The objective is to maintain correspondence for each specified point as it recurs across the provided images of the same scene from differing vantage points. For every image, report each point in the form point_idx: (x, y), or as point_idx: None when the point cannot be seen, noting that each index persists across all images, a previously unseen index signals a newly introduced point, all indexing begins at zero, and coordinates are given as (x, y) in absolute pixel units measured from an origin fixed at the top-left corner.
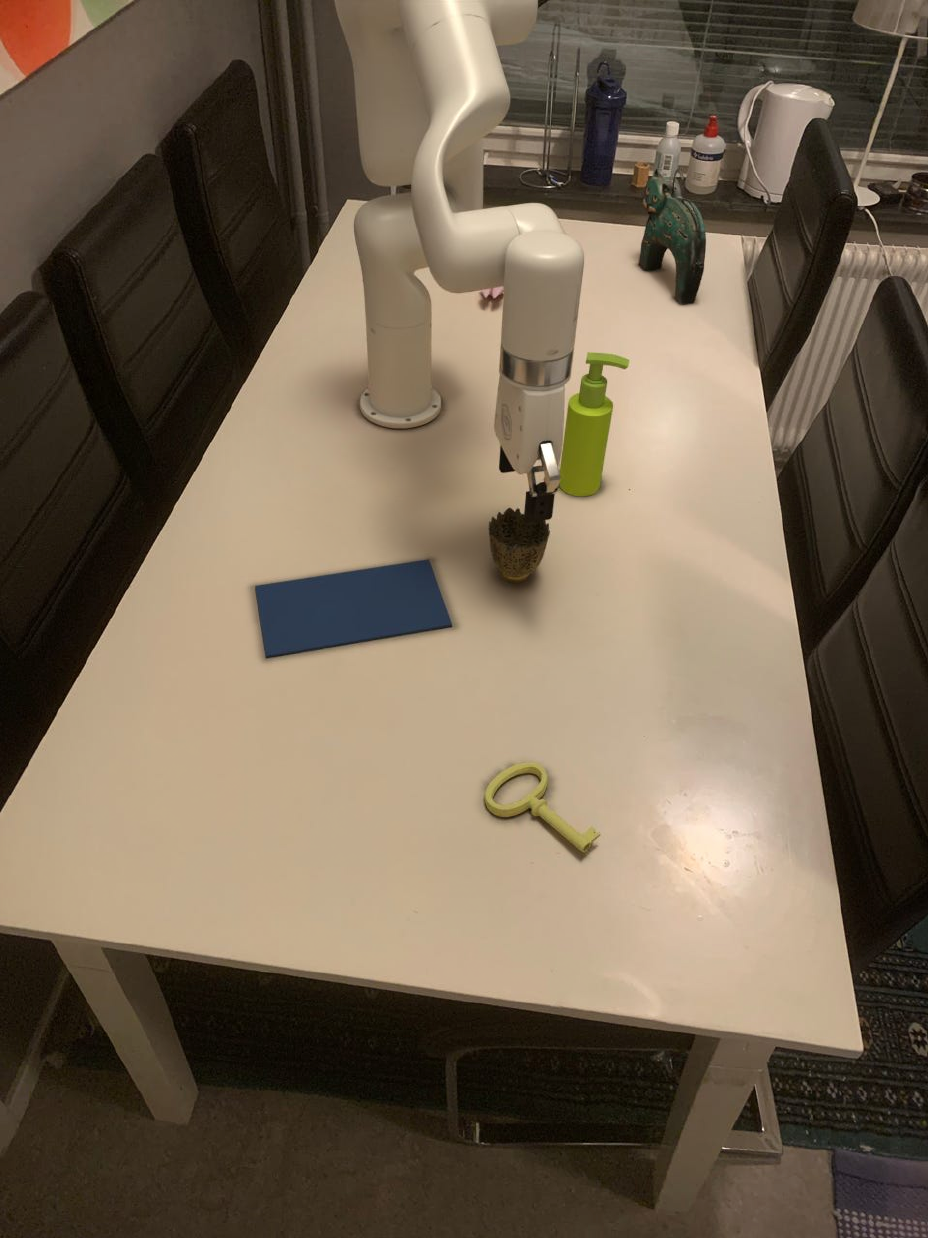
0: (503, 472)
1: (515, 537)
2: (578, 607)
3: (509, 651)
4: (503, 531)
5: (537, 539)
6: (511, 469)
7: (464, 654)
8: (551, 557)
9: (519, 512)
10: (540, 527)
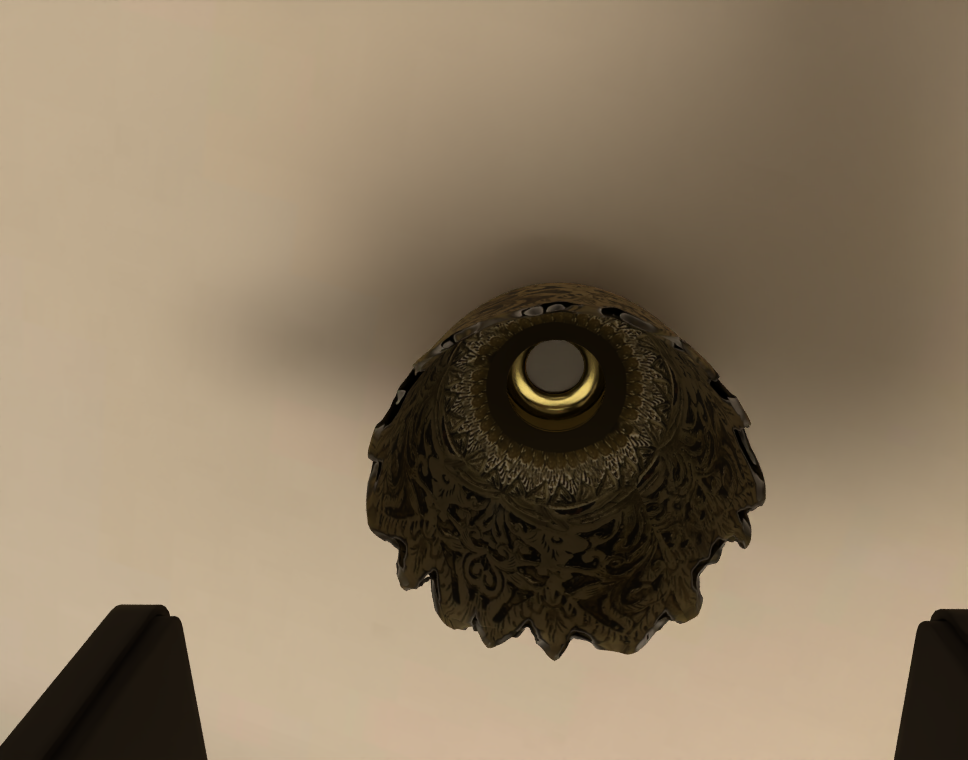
0: (917, 631)
1: (680, 442)
2: (321, 545)
3: (103, 214)
4: (698, 396)
5: (601, 541)
6: (915, 715)
7: (92, 4)
8: None
9: (731, 535)
10: (610, 595)
